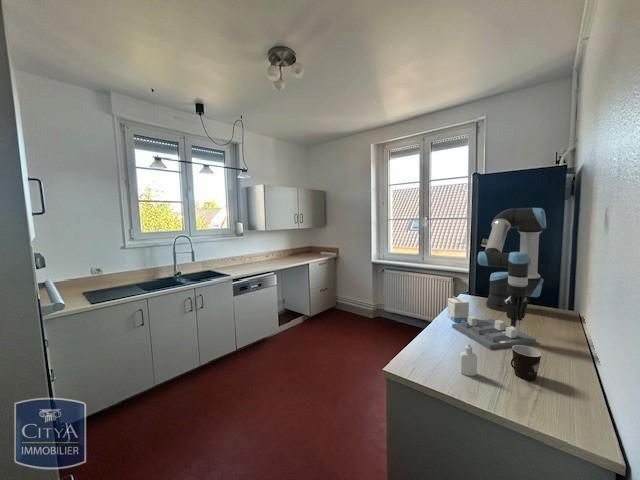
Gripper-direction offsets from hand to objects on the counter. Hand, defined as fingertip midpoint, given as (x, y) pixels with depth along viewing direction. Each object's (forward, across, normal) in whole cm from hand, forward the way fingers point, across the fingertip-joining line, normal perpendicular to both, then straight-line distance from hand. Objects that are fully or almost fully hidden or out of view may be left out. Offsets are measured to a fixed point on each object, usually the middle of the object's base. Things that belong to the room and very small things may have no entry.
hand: (515, 332), depth 125 cm
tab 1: (+2, +10, -16) cm, 19 cm away
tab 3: (+2, +2, 0) cm, 3 cm away
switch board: (+4, +5, -8) cm, 10 cm away
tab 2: (+2, 0, -8) cm, 8 cm away
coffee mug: (+4, +24, +23) cm, 33 cm away
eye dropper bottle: (+4, +41, +17) cm, 45 cm away
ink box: (+4, +7, -29) cm, 30 cm away
